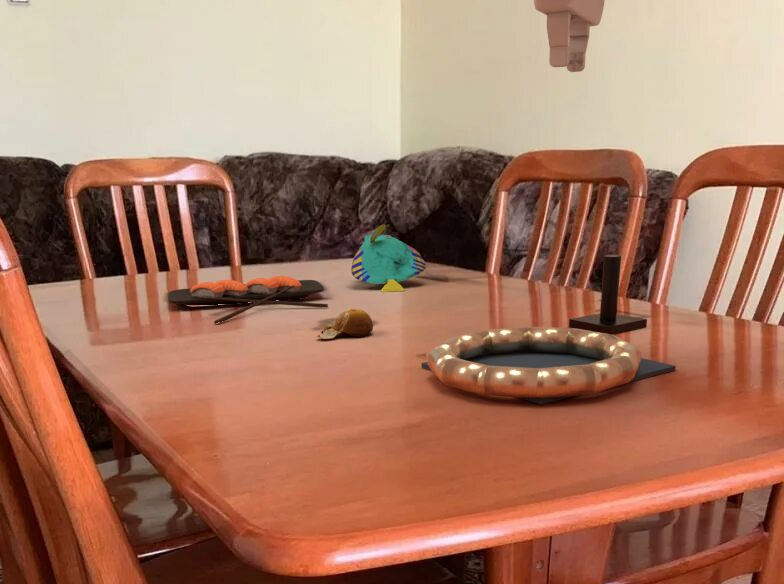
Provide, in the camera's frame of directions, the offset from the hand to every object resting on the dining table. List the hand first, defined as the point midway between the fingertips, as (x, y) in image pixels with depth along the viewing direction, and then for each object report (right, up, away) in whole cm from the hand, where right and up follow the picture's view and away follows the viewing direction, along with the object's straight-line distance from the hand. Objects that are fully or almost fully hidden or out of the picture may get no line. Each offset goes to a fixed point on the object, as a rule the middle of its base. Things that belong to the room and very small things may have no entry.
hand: (567, 69), depth 89 cm
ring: (-2, -29, +10) cm, 31 cm away
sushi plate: (-44, -8, +63) cm, 77 cm away
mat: (0, -29, +14) cm, 33 cm away
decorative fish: (-19, +1, +80) cm, 82 cm away
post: (+14, -19, +35) cm, 42 cm away
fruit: (-26, -19, +38) cm, 50 cm away
